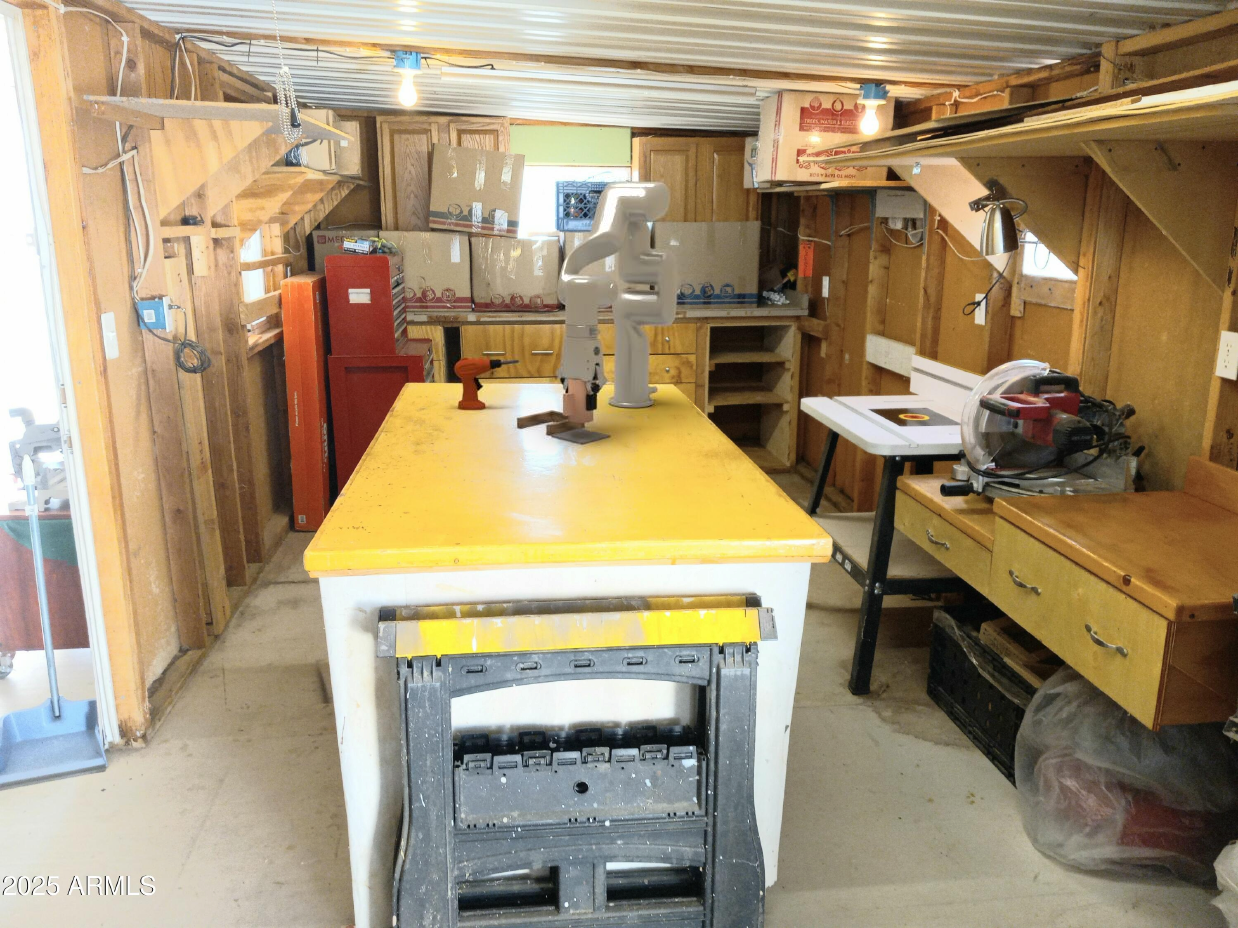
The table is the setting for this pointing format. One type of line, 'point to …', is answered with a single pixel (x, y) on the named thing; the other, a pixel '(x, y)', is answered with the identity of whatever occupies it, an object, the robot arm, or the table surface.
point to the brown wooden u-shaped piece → (544, 417)
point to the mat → (580, 436)
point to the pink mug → (576, 402)
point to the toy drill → (475, 379)
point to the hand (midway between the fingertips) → (580, 407)
